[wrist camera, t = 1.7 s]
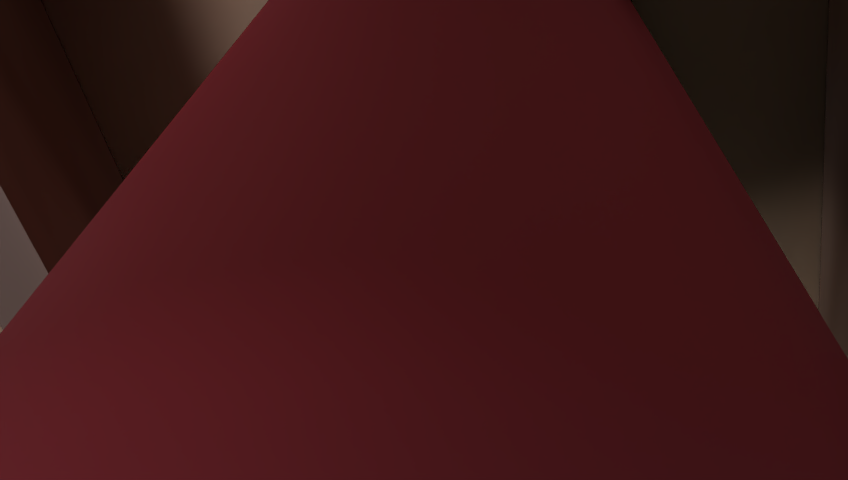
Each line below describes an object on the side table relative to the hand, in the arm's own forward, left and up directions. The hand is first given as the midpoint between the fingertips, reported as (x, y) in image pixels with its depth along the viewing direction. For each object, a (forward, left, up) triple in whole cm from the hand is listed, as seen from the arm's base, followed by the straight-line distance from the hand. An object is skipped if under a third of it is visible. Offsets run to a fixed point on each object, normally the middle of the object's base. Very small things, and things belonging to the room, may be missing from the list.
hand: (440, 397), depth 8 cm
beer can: (0, 0, -7) cm, 7 cm away
